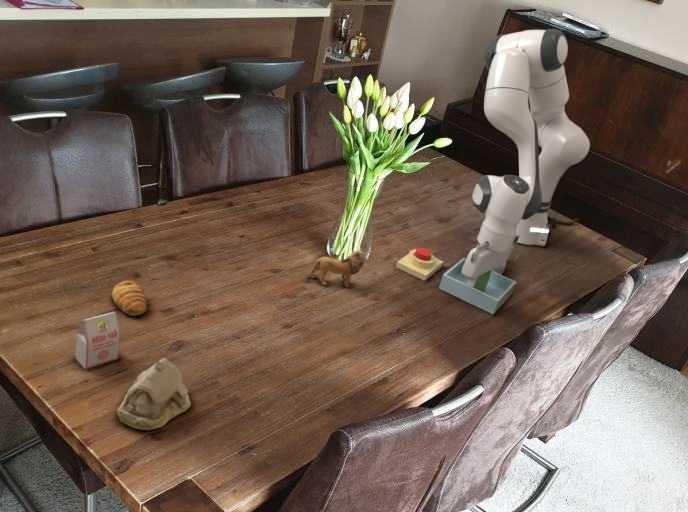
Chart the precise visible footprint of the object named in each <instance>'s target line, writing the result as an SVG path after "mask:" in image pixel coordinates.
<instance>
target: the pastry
mask: <svg viewBox="0 0 688 512" xmlns="http://www.w3.org/2000/svg"><path fill="white" fill-rule="evenodd" d="M111 293H112V294H111V298H112V300H113V302H114V304H115V305H116V306H117V308H119V309H120V310H121V311H122V312H123V313H125V314H127V315H129V316H132V317H133V316H139V315H142V314H144V313H145V312H146V310H147V305H148V303H147V299H148V298H147V295H146V293H145V290H144V288H143V287H142V286H141V285H138V284H137V282H136V281H132V280H124V281H122V282H118V284H116V285H115V286H113V288H112V291H111Z"/></svg>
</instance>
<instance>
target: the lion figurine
mask: <svg viewBox="0 0 688 512" xmlns="http://www.w3.org/2000/svg"><path fill="white" fill-rule="evenodd" d="M366 256H367V253H365V252H364V251H363V250H360V249H359V250H358V249H357V250H353V251H352V252H351V254H350V255H348V256H347V257H346V258H344V259H334V258H331V257H329V256H322V257H320V258H319V259H317V260H316V261H315V262H314V265H313V266H312V269H311V271H310V273H309V275H308V276H307V277H306V278H305V280H307V281H308V280H310V279H311V278H312V279H315V277H316V275H315V273H316V272H318V271H320V276H319V279H320V283H321V285H322V286H327V281H325V277H326V275H328V272H329V271H330V272H331V273H332V274H335V275H340V277H339V280H340V281H341V282H343V283H344V286H345V287H346V288H350V283H349V282H350V280H351V277H352V276H353V275H357V274H359V272H360V271H361V270H362V268H363V267H364V265H365V264H366V261H367V260H366Z"/></svg>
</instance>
